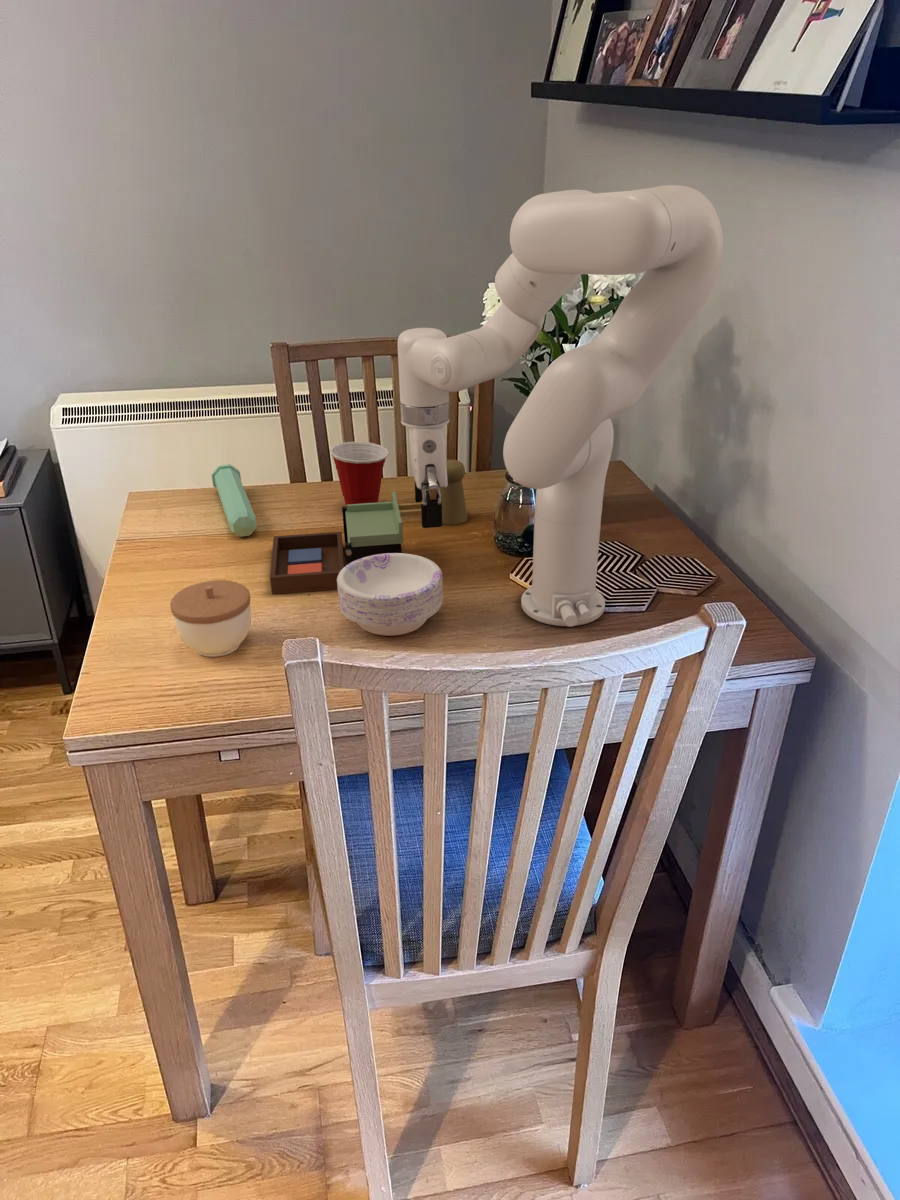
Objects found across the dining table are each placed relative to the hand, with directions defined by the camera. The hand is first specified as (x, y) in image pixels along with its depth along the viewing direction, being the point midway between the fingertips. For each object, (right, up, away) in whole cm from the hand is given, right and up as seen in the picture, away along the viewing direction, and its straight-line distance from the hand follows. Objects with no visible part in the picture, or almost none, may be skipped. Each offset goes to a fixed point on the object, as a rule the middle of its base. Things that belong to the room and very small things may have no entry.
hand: (428, 514), depth 142 cm
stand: (-9, -8, +3) cm, 13 cm away
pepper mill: (+4, +1, +20) cm, 20 cm away
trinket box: (-29, -21, -19) cm, 40 cm away
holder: (-20, -9, +2) cm, 22 cm away
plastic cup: (-13, +3, +24) cm, 27 cm away
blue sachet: (-21, -6, +4) cm, 22 cm away
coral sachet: (-20, -9, -1) cm, 22 cm away
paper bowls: (-5, -17, -13) cm, 22 cm away
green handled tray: (-6, -2, 0) cm, 7 cm away
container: (-37, +2, +23) cm, 44 cm away
